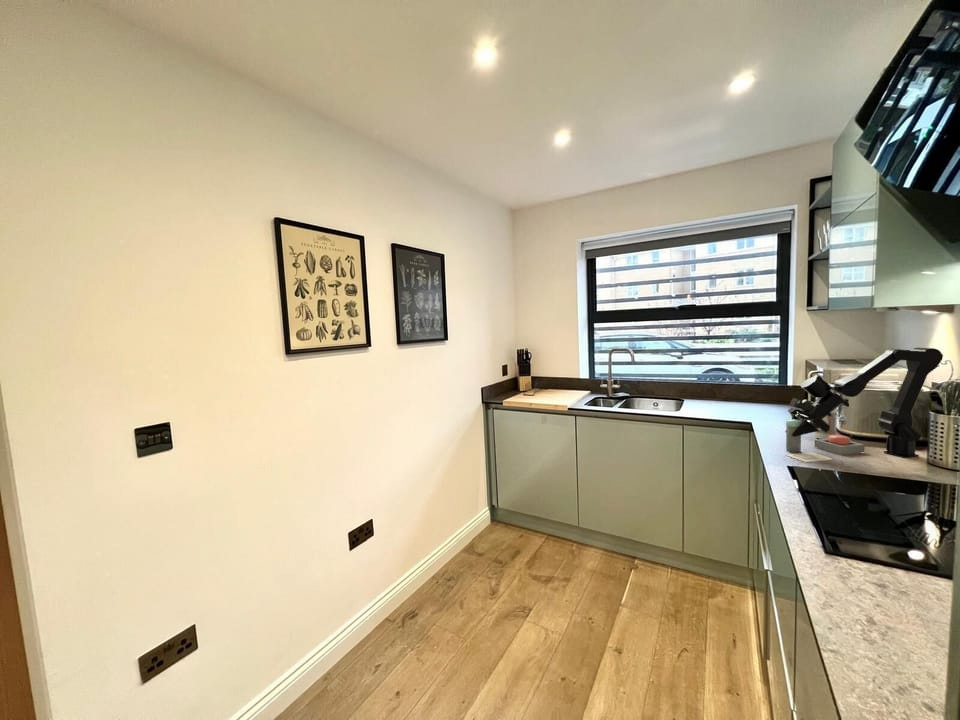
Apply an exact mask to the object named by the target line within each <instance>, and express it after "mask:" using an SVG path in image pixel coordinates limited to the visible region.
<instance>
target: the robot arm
mask: <svg viewBox="0 0 960 720" xmlns="http://www.w3.org/2000/svg"><path fill="white" fill-rule="evenodd" d="M943 357H944V355H943V353H942V352H941V350H940V349H937V348H933V347H914V348H912V349H898V348H890V349H887V350H885V351H884V353H882V354H881V355H879V356H878V357H877V358H875V359H874V360H872V361H871V362H869V363H868V364H866V365H865V366H863V367H862V368H861V369H859V370H858V371H856V372H854V373H852V374H849V375H846V376H844V377H841V378H840V379H837V380H836V381H835V382H829V383H828V382H826V381H825V380H824V379H823V378H822V376H820V375H818V374H815V375H814V376H812V377H809V378H807V379H805V380H804V381H802V382H801V384H800V387H801V388H802V389H803V390H804V391H805V392H806V393H808V394H809V395H811V397H812V398H814V399H815V398H816V399H817V398H818V399H817V400H816V401H810V400H808V399H803V400H800V399H798V398H795V397H793V398H792V400H791V401H790V403H789V406H791V407H790V408H789V409H788V410H787V412H788V413H789V414H790V416H791V419H795V420H800V421H802V423H801V425H800V426H799V427H798V428H797V429H796V430H795V431H794V432H793V433H792V436H793V437H796V436H800V435H801V436H803V435H807V434H812V433H814V432H819V430H818V429H819V428H820V430H821V431H822V432H825V433H826V432H828V431H829V430H830V425H828V424H827V423H826V422H825V421H824V420H823V418H825V417H826V416H829V417H830V416H831V415H832V414H830V413H831V412H832V411H833V410H834V409H836V410H837V408H838V407H839V406H840V405H841V406H845V407H847V408H848V407H850V402H849V401H850V399H848V398H850V397H851V398H854V397H857V396H858V395H860V394H861V393H862V392H863V391H864V390H865V389H866V388H867V384H869V382H871V381H873V380H874V379H875V378H876V377H878V376H879V375H880V374H883V373H884V372H885V371H887V370H888V369H890V368H891V367H893V366H894V365H895V364H897V363H898V362H900V361H905V363H906V368H907V372H906V374H905V377H904V379H903V381H902V384H901V386H900V389H899V391H898V393H897V396H896V398H895V400H894V402H893V406H892V407H891V408H890V409H889V410H882V411H881V413H880V417H879V418H878V419H877V421H878V426H879V427H880V429H881V430H882V431H883V432H884V433H883V434H885V435H886V436H887V439H886V444H885V447H886V449H885V450H883V453H884V454H887V455H892V456H896V457H899V458H914V457H919V456H920V455H919V454H917V453H916V442H919V441H920V439H921V437H922V435H921V434H920V433H919V432H917V431H916V430H915V429H914V428H913V424H914V418H913V414H912V412H913V409H914V407H915V406H916V403H917V400H918V398H919V396H920V393H921V391H922V389H923V386H924V384H925V381H926V379H927V377H928V375H930V373H932V372H933V371H934V370H936V369H937V367H938V366H939V365H940V363H941V362H942V360H943ZM833 392H835V393H833ZM841 395H842V396H845V397H848V398H843V397H842V396H841ZM784 432H785V433H786V430H785V431H784Z"/></svg>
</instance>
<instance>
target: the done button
mask: <svg viewBox="0 0 960 720" xmlns="http://www.w3.org/2000/svg"><path fill="white" fill-rule="evenodd" d="M850 438H851V437H850V436H847V435H843V434H842V435H841V434H840V435H839V434H836V435H829V438H828V442H829V443H833V444H837V445H840V446H841V445H850V441H851V439H850Z"/></svg>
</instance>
